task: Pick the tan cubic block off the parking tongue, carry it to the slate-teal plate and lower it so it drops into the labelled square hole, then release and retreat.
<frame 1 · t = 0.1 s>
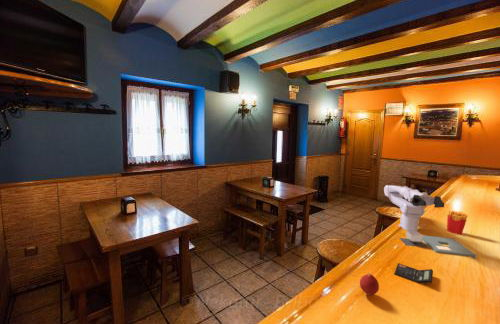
hand: (434, 204, 114), 22 cm above the bar counter, tool horizontal, fingers open, 7 cm apart
calculator: (413, 276, 94), on the bar counter
parking tongue: (412, 244, 119), on the bar counter
onion: (368, 295, 82), on the bar counter
hole plate: (444, 247, 117), on the bar counter
tan cubic block: (413, 242, 119), point 1 cm above the bar counter, touching parking tongue
french fries: (454, 232, 135), on the bar counter
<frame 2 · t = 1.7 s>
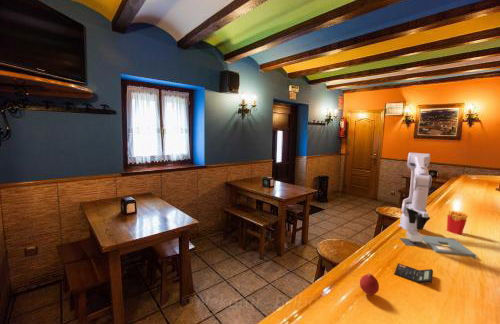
hand: (415, 226, 118), 10 cm above the bar counter, tool pointing down, fingers open, 7 cm apart
nothing on the bar counter moved.
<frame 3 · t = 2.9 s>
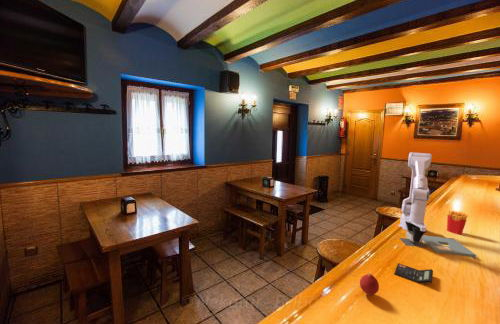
hand: (413, 238, 119), 3 cm above the bar counter, tool pointing down, fingers closed on tan cubic block, 5 cm apart
tan cubic block: (413, 242, 119), point 1 cm above the bar counter, touching gripper, parking tongue
everything else where it was.
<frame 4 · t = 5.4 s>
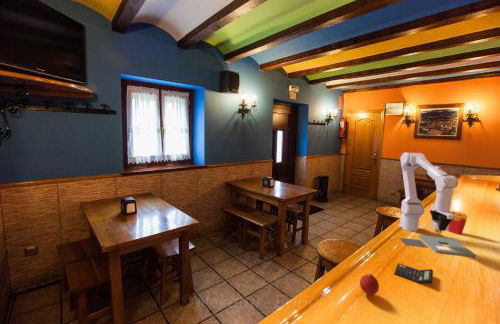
hand: (438, 227, 116), 10 cm above the bar counter, tool pointing down, fingers closed on tan cubic block, 5 cm apart
tan cubic block: (438, 231, 116), point 8 cm above the bar counter, touching gripper
everything else where it was.
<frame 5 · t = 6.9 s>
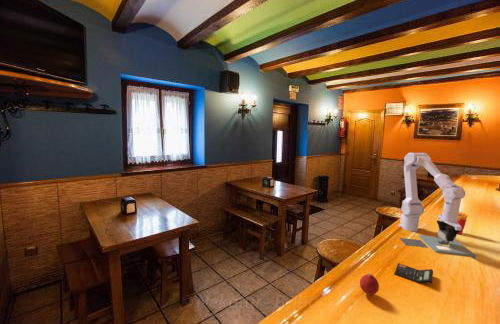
hand: (446, 238, 116), 5 cm above the bar counter, tool pointing down, fingers closed on tan cubic block, 5 cm apart
tan cubic block: (445, 242, 116), point 3 cm above the bar counter, touching gripper
everything else where it was.
when the fingers open (3 cm above the bar counter, at t = 7.8 s): tan cubic block drops 1 cm, resting on hole plate.
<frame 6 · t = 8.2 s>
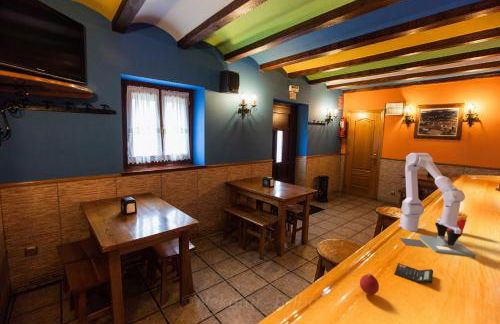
hand: (445, 241, 116), 3 cm above the bar counter, tool pointing down, fingers open, 7 cm apart
tan cubic block: (444, 247, 117), resting on hole plate
everything else where it was.
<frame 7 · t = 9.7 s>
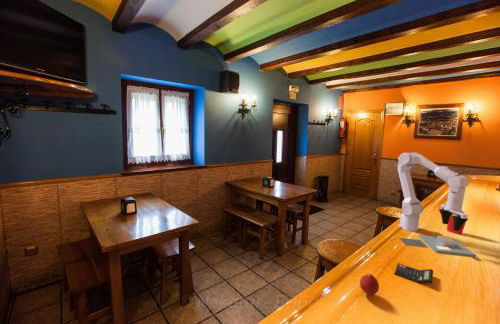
hand: (450, 227, 118), 10 cm above the bar counter, tool pointing down, fingers open, 7 cm apart
nothing on the bar counter moved.
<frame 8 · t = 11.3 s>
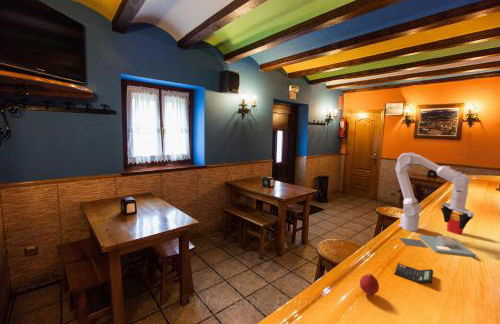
hand: (453, 225, 120), 10 cm above the bar counter, tool pointing down, fingers open, 7 cm apart
nothing on the bar counter moved.
at the end: tan cubic block 0.0 cm off-centre on the hole plate, point 0.0 cm above the hole plate's base; tan cubic block tilted 0°; the gripper is holding nothing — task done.
